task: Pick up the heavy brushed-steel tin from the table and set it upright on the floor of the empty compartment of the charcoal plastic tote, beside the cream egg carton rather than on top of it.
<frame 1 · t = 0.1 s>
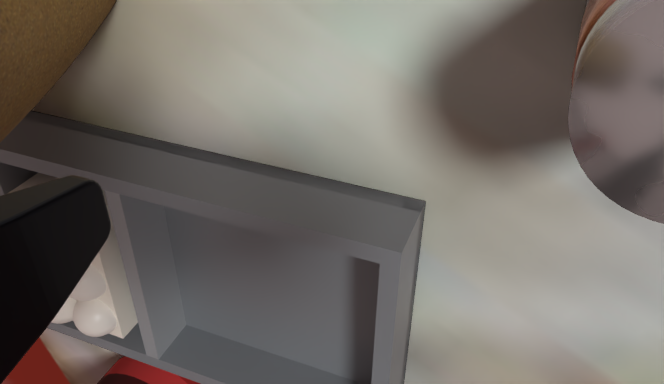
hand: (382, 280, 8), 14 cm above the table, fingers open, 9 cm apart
tote: (218, 253, 31), on the table
egg carton: (108, 233, 33), point 1 cm above the table, touching tote
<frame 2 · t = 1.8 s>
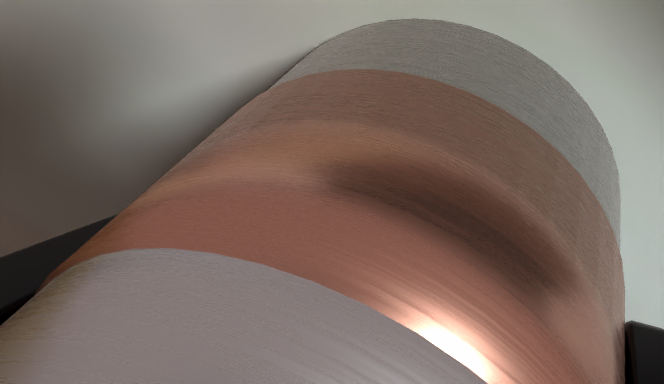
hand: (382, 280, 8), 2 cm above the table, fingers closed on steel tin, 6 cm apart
steel tin: (422, 196, 9), on the table, touching gripper
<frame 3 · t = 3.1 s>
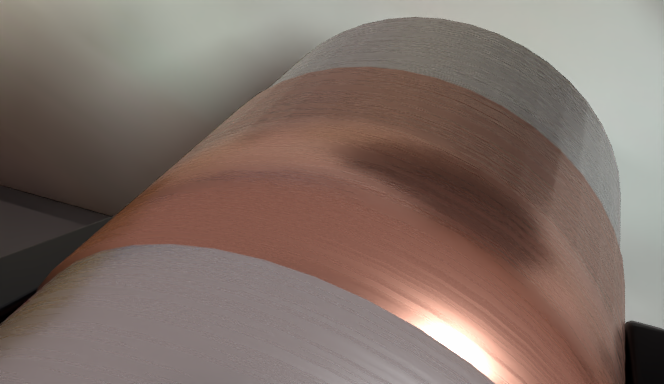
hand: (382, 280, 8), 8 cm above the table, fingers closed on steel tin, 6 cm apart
tote: (65, 302, 28), on the table
steel tin: (422, 194, 9), point 6 cm above the table, touching gripper
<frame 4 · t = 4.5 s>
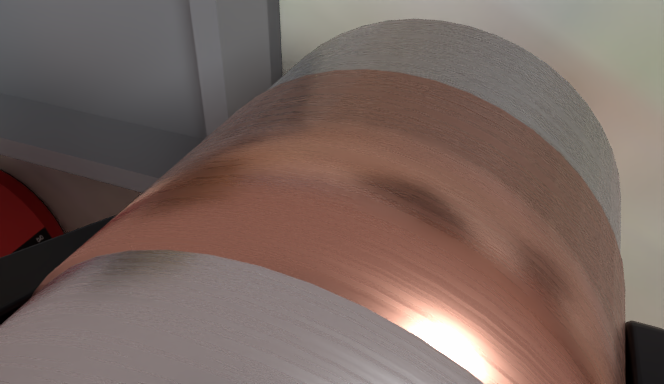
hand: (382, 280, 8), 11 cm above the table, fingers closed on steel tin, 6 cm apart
canned food: (16, 221, 31), on the table
steel tin: (422, 196, 9), point 9 cm above the table, touching gripper
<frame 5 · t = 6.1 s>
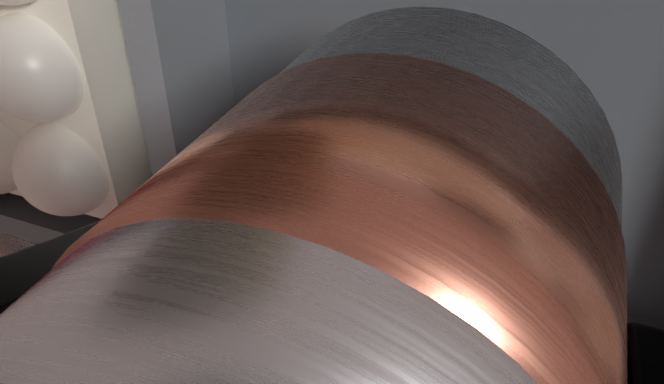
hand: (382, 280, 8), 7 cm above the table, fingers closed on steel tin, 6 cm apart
tote: (327, 37, 15), on the table
egg carton: (91, 14, 16), point 1 cm above the table, touching tote
steel tin: (426, 183, 10), point 5 cm above the table, touching gripper
when the fingers open (4 cm above the table, at t = 7.2 s): steel tin stays where it is, resting on tote.
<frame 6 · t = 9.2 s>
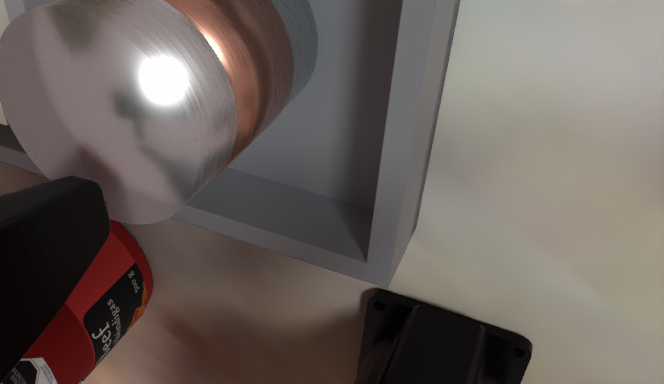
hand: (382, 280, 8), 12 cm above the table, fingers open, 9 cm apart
canned food: (96, 250, 31), on the table
tote: (155, 2, 21), on the table
steel tin: (238, 30, 19), point 1 cm above the table, touching tote
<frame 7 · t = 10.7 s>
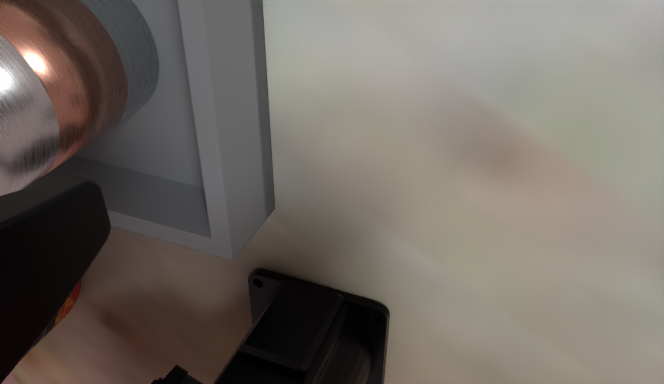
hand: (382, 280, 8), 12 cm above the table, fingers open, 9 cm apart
canned food: (30, 251, 34), on the table
tote: (33, 24, 24), on the table
steel tin: (95, 44, 23), point 1 cm above the table, touching tote
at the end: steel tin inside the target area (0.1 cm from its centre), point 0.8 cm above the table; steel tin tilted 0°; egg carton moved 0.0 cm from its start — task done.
